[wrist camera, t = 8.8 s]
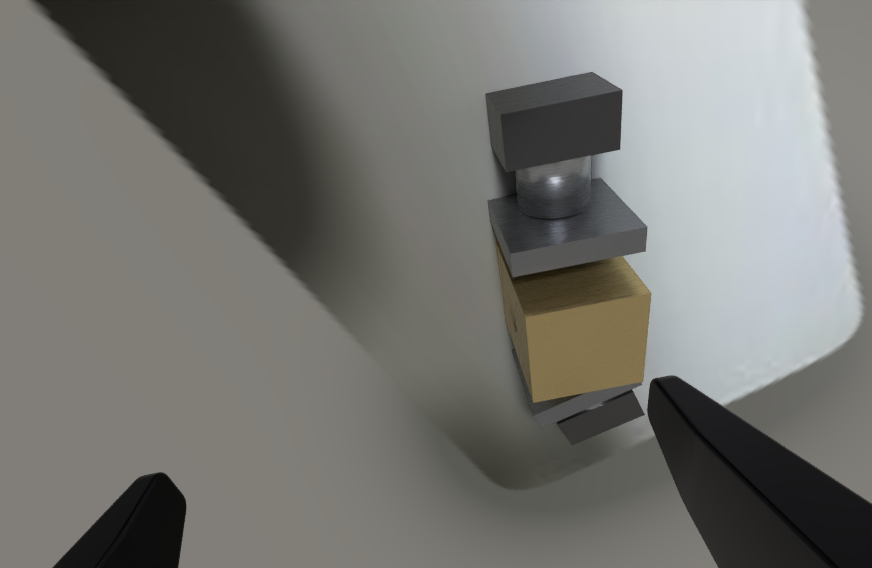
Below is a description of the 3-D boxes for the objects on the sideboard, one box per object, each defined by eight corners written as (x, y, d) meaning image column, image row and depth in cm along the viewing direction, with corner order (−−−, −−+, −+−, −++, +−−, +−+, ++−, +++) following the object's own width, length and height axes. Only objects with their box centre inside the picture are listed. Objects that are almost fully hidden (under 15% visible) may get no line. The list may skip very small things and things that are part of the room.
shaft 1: (511, 350, 26) (533, 416, 22) (598, 308, 25) (635, 370, 21) (550, 407, 29) (574, 474, 25) (629, 372, 28) (667, 437, 24)
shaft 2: (474, 95, 18) (497, 132, 15) (602, 69, 18) (657, 100, 15) (490, 221, 21) (512, 277, 18) (600, 199, 21) (645, 251, 18)
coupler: (504, 319, 25) (533, 402, 20) (495, 241, 22) (525, 317, 18) (594, 301, 25) (643, 381, 20) (595, 221, 22) (651, 292, 18)
